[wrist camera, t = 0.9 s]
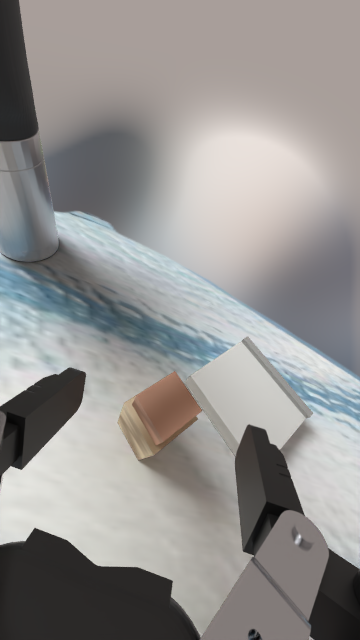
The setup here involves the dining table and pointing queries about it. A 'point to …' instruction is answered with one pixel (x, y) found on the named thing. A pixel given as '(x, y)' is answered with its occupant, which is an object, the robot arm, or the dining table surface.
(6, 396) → the dining table surface
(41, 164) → the robot arm
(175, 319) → the dining table surface
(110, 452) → the dining table surface
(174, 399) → the beige tall block
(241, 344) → the dock
